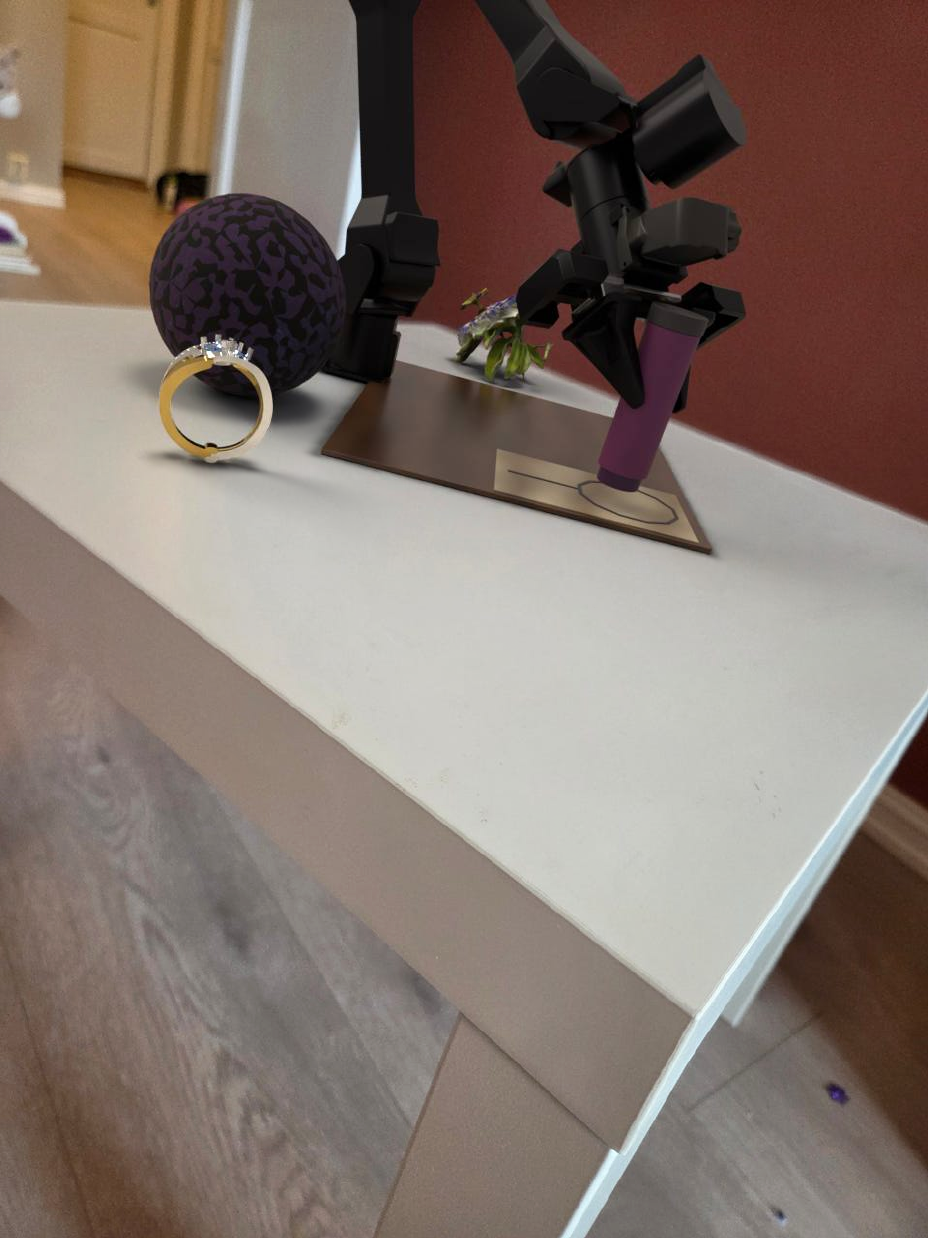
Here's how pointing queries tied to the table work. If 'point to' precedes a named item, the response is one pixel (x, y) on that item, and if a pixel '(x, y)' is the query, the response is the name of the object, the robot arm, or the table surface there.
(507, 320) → the passion flower
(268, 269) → the toy ball
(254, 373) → the ring
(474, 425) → the board
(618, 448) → the dauber
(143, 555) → the table surface
